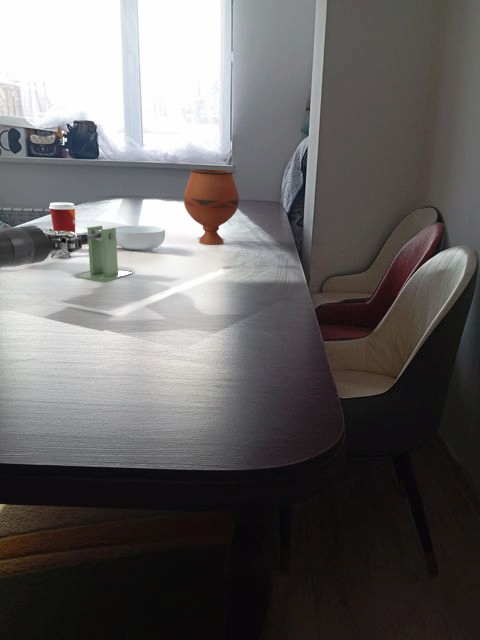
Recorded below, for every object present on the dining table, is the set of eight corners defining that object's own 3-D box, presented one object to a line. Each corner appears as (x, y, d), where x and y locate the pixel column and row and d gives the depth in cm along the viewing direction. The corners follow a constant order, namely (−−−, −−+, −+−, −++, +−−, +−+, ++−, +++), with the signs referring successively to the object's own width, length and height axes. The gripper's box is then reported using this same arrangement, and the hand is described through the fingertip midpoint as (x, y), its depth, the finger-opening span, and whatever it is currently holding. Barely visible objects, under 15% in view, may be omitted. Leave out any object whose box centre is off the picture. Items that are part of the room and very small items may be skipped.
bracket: (105, 286, 122) (102, 231, 118) (75, 281, 125) (70, 227, 121) (132, 277, 132) (130, 226, 127) (104, 272, 135) (101, 223, 130)
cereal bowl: (175, 250, 169) (175, 228, 166) (142, 258, 155) (141, 234, 152) (135, 243, 176) (134, 222, 173) (100, 250, 162) (98, 227, 159)
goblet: (175, 244, 180) (174, 168, 171) (196, 236, 197) (196, 168, 188) (227, 249, 175) (229, 172, 166) (243, 241, 193) (246, 171, 184)
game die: (66, 268, 153) (83, 239, 155) (65, 263, 145) (82, 233, 147) (38, 252, 151) (55, 223, 152) (34, 247, 143) (52, 216, 144)
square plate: (131, 234, 193) (131, 223, 192) (79, 244, 170) (78, 232, 169) (75, 226, 203) (75, 216, 202) (19, 235, 180) (18, 223, 178)
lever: (71, 250, 113) (70, 233, 112) (58, 248, 115) (57, 231, 113) (112, 242, 126) (111, 227, 125) (100, 240, 127) (99, 226, 126)
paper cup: (83, 250, 160) (80, 204, 155) (59, 252, 155) (55, 205, 150) (72, 246, 165) (68, 201, 160) (48, 248, 160) (43, 202, 155)
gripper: (45, 231, 99) (103, 224, 114) (-10, 223, 103) (53, 217, 119) (48, 269, 101) (104, 258, 116) (-6, 260, 106) (55, 250, 121)
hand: (78, 237), depth 117 cm, fingers closed on lever, 3 cm apart
